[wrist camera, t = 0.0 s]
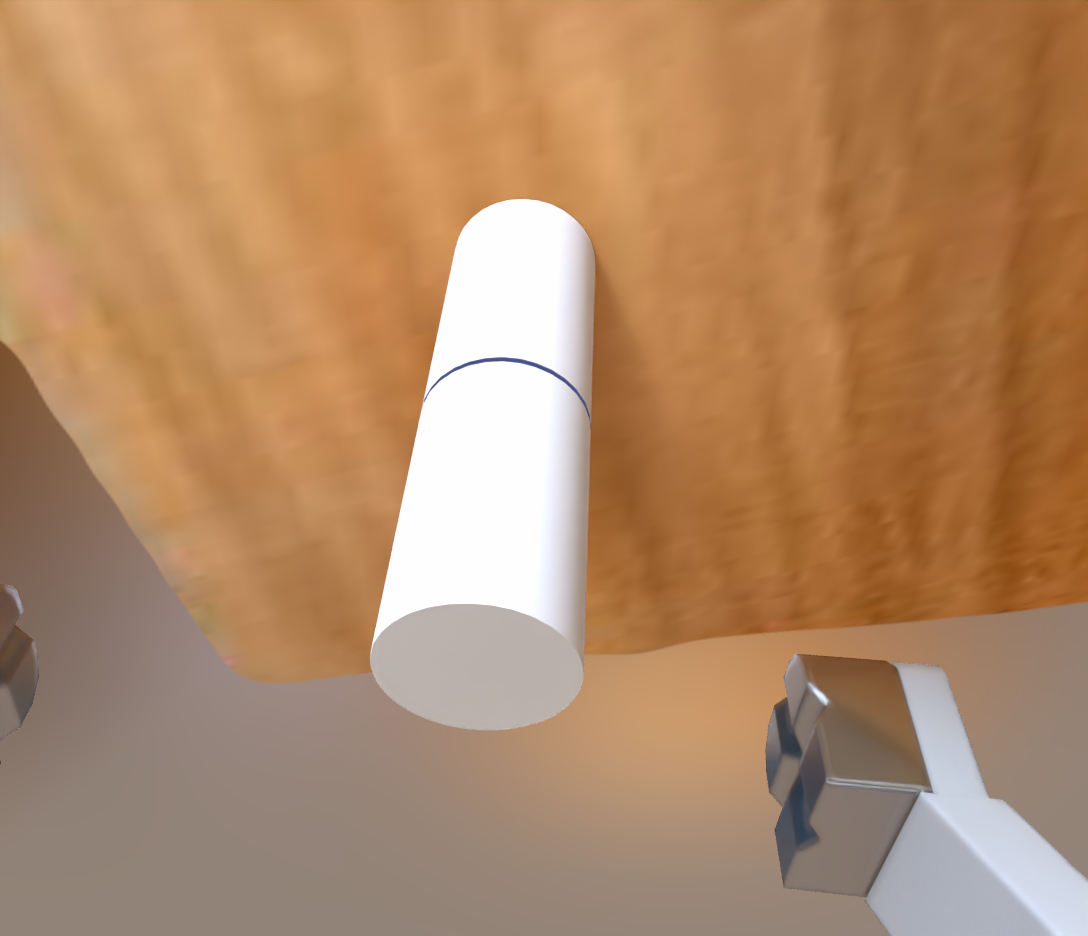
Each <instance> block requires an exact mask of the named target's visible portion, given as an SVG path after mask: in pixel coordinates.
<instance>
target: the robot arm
mask: <svg viewBox="0 0 1088 936" xmlns="http://www.w3.org/2000/svg"><path fill="white" fill-rule="evenodd" d="M22 612H23V607H22V604H21V602H20V599H19V597H18V594H17V592H16V589H15V588H14V587H11V586H6V585H4V584H0V740H2V739H3V738H5V737H6V736H8V735H9V734H11V733H12V732H14V731H15V730H17V729H18V728H20V727H21V725H22V723H23V721H24V719H25V717H26V715H27V713H28V711H29V709H30V707H31V706H32V703H33V699H34V695H35V691H36V687H37V682H38V678H39V667H38V666H39V665H38V654H37V651H36V647H35V644H34V641H33V639H32V638H30V637H29V636H28V635H27V634H26V633H24V632H23V631H22V630H21V629H19V628H18V627H17V626H16V625H15V624H16V622H17V621H18V619H19V617H20V615H21V614H22ZM784 682H785V688H786V693H787V697H786V698H785V699H783V700H782V701H780V702H779V703H777V704H776V705H774V708H773V712H772V715H771V719H770V722H769V725H768V733H767V742H766V772H767V780H768V787H769V793H770V794H771V795H772V796H773V797H774V798H775V799H776V801H778V803H779V804H780V805H781V806H782V807H783V808H782V811H781V814H780V817H779V819H778V822H777V825H776V828H775V835H776V841H777V848H778V854H779V861H780V867H781V873H782V880H783V886H784V888H788V889H797V890H806V891H815V892H824V893H833V894H842V895H851V896H860V897H866V899H865V902H866V904H867V905H868V907H869V908H870V909H871V910H872V912H873V913H874V915H875V916H876V918H877V919H878V920H879V922H880V923H881V924H882V926H883V927H884V929H885V930H886V931H887V933H888V934H889V936H1088V880H1087V879H1086V878H1085V877H1084V876H1083V875H1082V874H1081V873H1080V872H1079V871H1078V870H1077V869H1076V868H1075V867H1074V866H1073V865H1071V863H1069V862H1068V861H1067V860H1066V859H1065V858H1064V857H1063V856H1062V855H1061V854H1060V853H1059V852H1058V851H1057V850H1056V849H1055V848H1054V847H1053V846H1052V845H1050V843H1049V842H1047V841H1046V840H1045V839H1044V838H1043V837H1042V836H1041V835H1040V834H1039V833H1038V832H1037V831H1036V830H1035V829H1034V828H1033V827H1032V826H1031V825H1030V824H1028V822H1026V821H1025V820H1024V819H1023V818H1022V817H1021V816H1020V815H1019V814H1018V813H1017V812H1016V811H1015V810H1014V809H1013V808H1012V807H1011V806H1010V805H1009V804H1008V803H1006V801H1005V800H999V799H991V798H989V795H988V793H987V790H986V787H985V784H984V781H983V778H982V775H981V773H980V769H979V767H978V764H977V761H976V758H975V755H974V752H973V749H972V747H971V744H970V741H969V738H968V735H967V732H966V729H965V726H964V724H963V721H962V718H961V715H960V712H959V709H958V706H957V704H956V701H955V698H954V695H953V692H952V689H951V686H950V683H949V680H948V678H947V675H946V673H945V672H944V671H943V670H942V669H941V667H940V666H938V665H926V664H914V663H902V662H889V663H888V662H887V661H882V660H869V659H856V658H843V657H831V656H818V655H804V654H795V655H794V657H793V658H792V659H791V660H790V661H789V664H788V667H787V670H786V673H785V676H784ZM0 764H1V762H0Z"/></svg>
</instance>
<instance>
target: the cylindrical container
mask: <svg viewBox="0 0 1088 936" xmlns="http://www.w3.org/2000/svg"><path fill="white" fill-rule="evenodd" d="M594 296H595V253H594V249H593V246H592V243H591V240H590V238H589V237H588V235H587V233H586V231H585V230H584V228H583V227H582V226H581V225H580V224H579V223H578V222H577V221H576V220H575V218H573V217H572V216H570V215H569V214H568V213H566V212H565V211H564V210H562V209H560V208H558V207H555V206H553V205H551V204H548V203H545V202H541V201H538V200H528V199H517V200H508V201H504V202H500V203H496V204H494V205H491V206H489V207H487V208H485V209H483V210H482V211H480V212H479V213H478V214H476V215H475V216H474V217H473V218H471V220H470V221H469V222H468V223H467V224H466V226H465V227H464V228H463V230H462V232H461V234H460V236H459V238H458V241H457V245H456V249H455V253H454V258H453V263H452V268H451V272H450V277H449V282H448V287H447V292H446V296H445V301H444V306H443V311H442V315H441V320H440V325H439V330H438V334H437V339H436V344H435V349H434V353H433V358H432V363H431V368H430V372H429V377H428V382H427V387H426V391H425V396H424V401H423V406H422V411H421V415H420V420H419V425H418V430H417V434H416V439H415V444H414V449H413V453H412V458H411V463H410V468H409V472H408V477H407V482H406V487H405V491H404V496H403V501H402V506H401V510H400V515H399V520H398V525H397V530H396V534H395V539H394V544H393V549H392V553H391V558H390V563H389V568H388V572H387V577H386V582H385V587H384V591H383V596H382V601H381V606H380V610H379V615H378V620H377V625H376V629H375V634H374V639H373V644H372V649H371V653H370V665H371V669H372V672H373V675H374V678H375V680H376V681H377V683H378V684H379V686H380V687H381V688H382V690H383V691H384V692H385V693H386V694H387V695H388V696H389V697H390V698H391V699H393V700H394V701H395V702H396V703H398V704H399V705H401V706H402V707H404V708H405V709H407V710H408V711H410V712H412V713H414V714H417V715H419V716H421V717H423V718H425V719H428V720H431V721H434V722H437V723H440V724H444V725H448V726H453V727H458V728H464V729H473V730H505V729H513V728H520V727H524V726H528V725H532V724H535V723H539V722H541V721H543V720H546V719H548V718H550V717H553V716H554V715H556V714H557V713H559V712H560V711H562V710H563V709H565V708H566V707H567V706H568V705H569V704H570V703H571V702H572V701H573V700H574V699H575V698H576V696H577V694H578V693H579V691H580V689H581V687H582V682H583V677H584V649H585V614H586V578H587V542H588V507H589V473H590V438H591V430H590V429H591V402H592V366H593V331H594Z"/></svg>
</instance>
